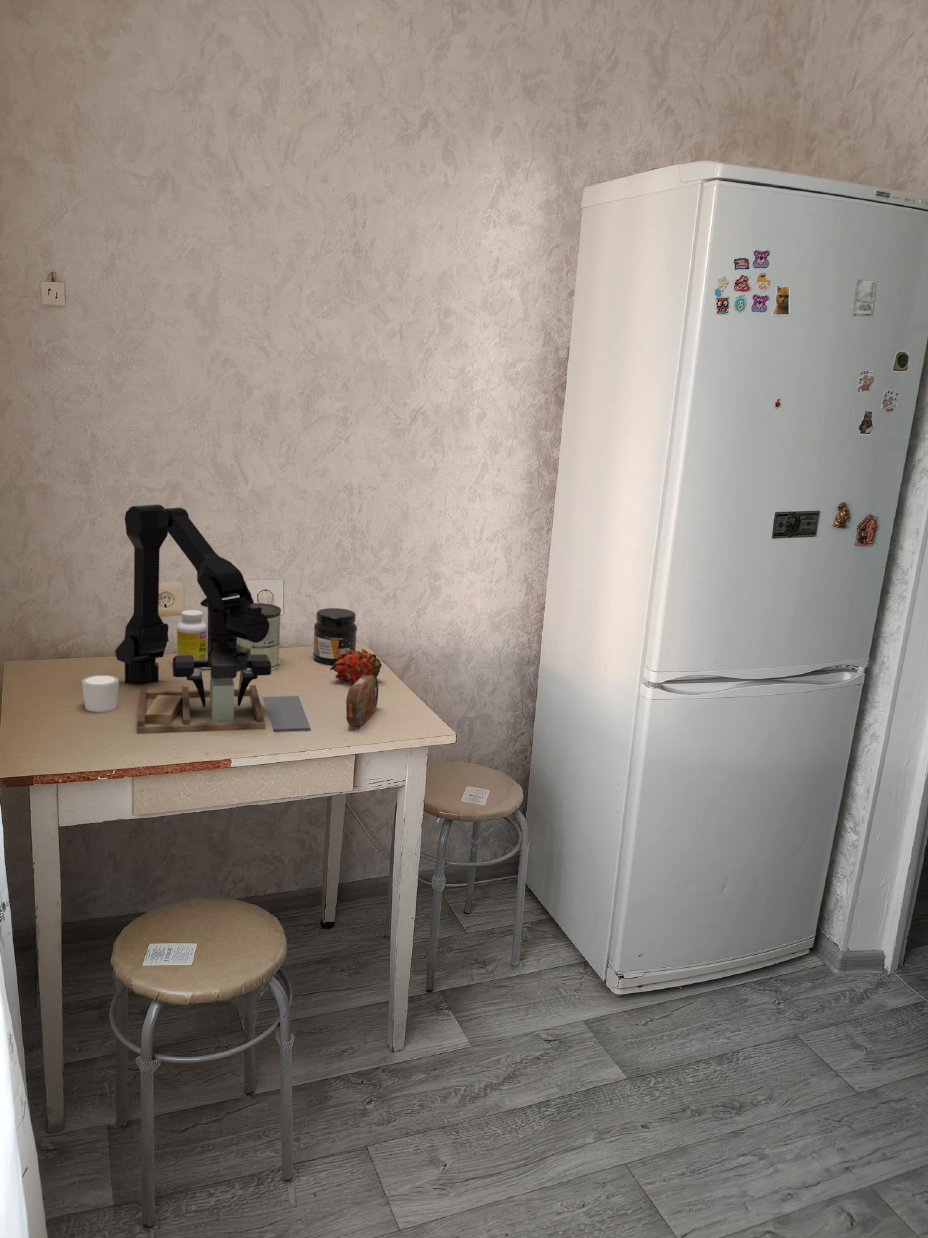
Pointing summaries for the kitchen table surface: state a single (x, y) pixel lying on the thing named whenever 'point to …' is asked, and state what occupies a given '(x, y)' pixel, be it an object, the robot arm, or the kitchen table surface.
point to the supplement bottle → (192, 635)
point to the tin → (362, 700)
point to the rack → (186, 713)
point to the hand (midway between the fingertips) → (221, 706)
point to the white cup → (100, 692)
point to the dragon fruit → (356, 665)
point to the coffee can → (270, 641)
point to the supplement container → (334, 634)
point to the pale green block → (222, 699)
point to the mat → (286, 713)
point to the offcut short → (163, 709)
